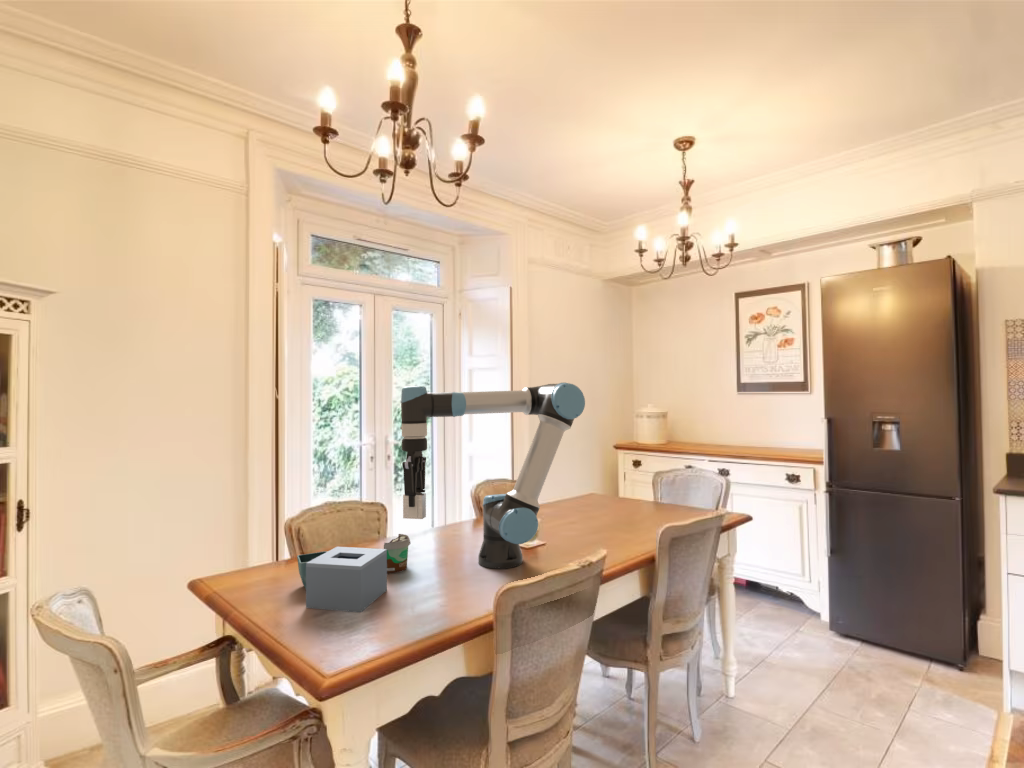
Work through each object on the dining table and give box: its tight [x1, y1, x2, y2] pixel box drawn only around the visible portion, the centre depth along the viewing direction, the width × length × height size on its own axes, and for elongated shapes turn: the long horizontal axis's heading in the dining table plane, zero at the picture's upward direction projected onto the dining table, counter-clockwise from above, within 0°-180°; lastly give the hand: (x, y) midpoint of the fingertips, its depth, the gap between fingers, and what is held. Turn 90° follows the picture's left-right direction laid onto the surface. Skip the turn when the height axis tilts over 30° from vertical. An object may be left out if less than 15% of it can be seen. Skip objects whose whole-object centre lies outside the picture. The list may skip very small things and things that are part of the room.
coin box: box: [305, 546, 388, 613], centre depth 149 cm, size 16×16×12 cm
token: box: [402, 492, 427, 520], centre depth 158 cm, size 6×3×7 cm, turn 79°
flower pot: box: [296, 550, 328, 590], centre depth 158 cm, size 9×9×9 cm
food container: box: [383, 533, 411, 574], centre depth 174 cm, size 12×6×10 cm, turn 168°
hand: (415, 515), depth 158 cm, fingers closed on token, 3 cm apart
